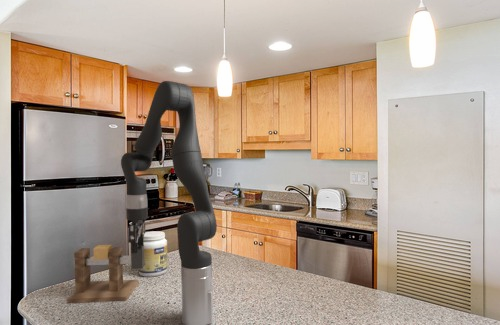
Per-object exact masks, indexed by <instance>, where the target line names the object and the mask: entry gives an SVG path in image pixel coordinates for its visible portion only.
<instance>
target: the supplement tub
mask: <svg viewBox="0 0 500 325" xmlns="http://www.w3.org/2000/svg"><path fill="white" fill-rule="evenodd" d="M143 237H144V267H143V269H137V271H138V274H139V275H140V276H141V277H146V278H147V277H150V278H151V277H158V276H162V275H163V274H165V273H166V272H167V271H168V266H169V265H168V240H167V239H166V238H165V237H166V233H165V231H159V230H157V231H153V230H152V231H146V232H145V234H144V236H143Z"/></svg>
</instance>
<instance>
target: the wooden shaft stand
mask: <svg viewBox="0 0 500 325" xmlns="http://www.w3.org/2000/svg"><path fill="white" fill-rule="evenodd" d="M73 256H74V258H73V262H74V261H75V266H74V285H75V286H74V292H73V293H72V294H71V295H70V296H69V297H68V298H67V299H66V304H80V303H85V304H86V302H87V303H104V302H105V303H107V302H110V303H111V302H127V301H128V300H129V298H130V296H131V295H132V294H133V293H134V291H135V289H136V288H137V287H138V285H139V283H140V280H139V279H124V266H123V265H124V264H119V256H124V255H123V247H122V246H115V247H112V249H111V250H110V251H109V265H108V280H93V281H91V265H85V258H86V257H91V248H90V247H82V248H80V249H78V250H76V251H75V252H74V255H73Z"/></svg>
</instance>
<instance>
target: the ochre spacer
mask: <svg viewBox="0 0 500 325" xmlns="http://www.w3.org/2000/svg"><path fill="white" fill-rule="evenodd" d="M111 249H113V244H97V245H96V246H95V247H94V248H93V251H92V252H93V257H94V260H98V259H109V251H110V250H111Z"/></svg>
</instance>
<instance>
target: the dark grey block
mask: <svg viewBox="0 0 500 325" xmlns="http://www.w3.org/2000/svg"><path fill="white" fill-rule="evenodd" d="M119 264H123V265H130V266H131V267H130V268H131V270H138V269H143V267H144V245H138V252H137V253H131V252H130V255H123V256H119ZM85 265H90V266H101V265H103V266H107V265H108V266H109V259H98V260H94V256H90V257H86V258H85ZM73 266H74V267H75V261H74V260H73Z"/></svg>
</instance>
